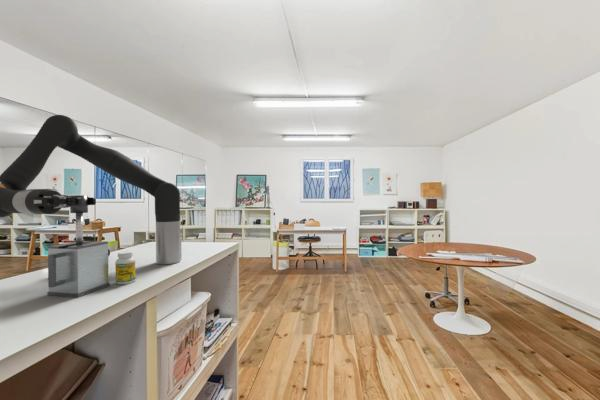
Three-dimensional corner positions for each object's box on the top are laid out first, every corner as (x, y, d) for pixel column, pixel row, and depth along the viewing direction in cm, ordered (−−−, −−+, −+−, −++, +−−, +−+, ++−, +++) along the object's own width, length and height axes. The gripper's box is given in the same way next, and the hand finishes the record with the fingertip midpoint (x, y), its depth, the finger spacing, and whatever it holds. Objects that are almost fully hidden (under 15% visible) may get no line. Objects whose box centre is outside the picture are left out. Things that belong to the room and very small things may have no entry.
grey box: (81, 284, 85) (81, 240, 85) (109, 285, 84) (109, 241, 84) (34, 299, 72) (34, 248, 72) (66, 301, 71) (66, 249, 71)
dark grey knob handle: (80, 254, 83) (80, 195, 83) (100, 254, 82) (100, 195, 82) (57, 259, 77) (56, 195, 76) (78, 260, 75) (77, 195, 75)
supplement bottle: (135, 278, 91) (134, 250, 91) (136, 282, 86) (135, 252, 86) (115, 281, 88) (115, 251, 88) (115, 285, 83) (115, 254, 83)
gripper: (9, 188, 75) (62, 187, 72) (62, 189, 89) (108, 189, 86) (9, 215, 75) (62, 215, 72) (62, 212, 89) (108, 212, 86)
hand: (87, 201), depth 79 cm, fingers closed on dark grey knob handle, 4 cm apart
